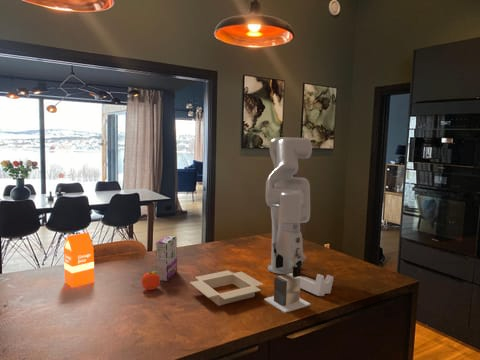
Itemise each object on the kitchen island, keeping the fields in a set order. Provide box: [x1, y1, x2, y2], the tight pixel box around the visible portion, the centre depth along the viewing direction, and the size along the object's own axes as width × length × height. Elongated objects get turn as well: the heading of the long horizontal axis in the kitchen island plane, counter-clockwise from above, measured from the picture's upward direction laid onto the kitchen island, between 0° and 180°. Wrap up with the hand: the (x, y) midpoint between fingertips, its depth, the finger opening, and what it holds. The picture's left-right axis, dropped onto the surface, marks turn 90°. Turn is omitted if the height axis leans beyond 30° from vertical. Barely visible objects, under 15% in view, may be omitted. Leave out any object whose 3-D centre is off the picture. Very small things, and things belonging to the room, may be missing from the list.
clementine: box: [141, 270, 161, 291], centre depth 145 cm, size 8×7×7 cm
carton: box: [189, 270, 264, 306], centre depth 143 cm, size 24×24×4 cm
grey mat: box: [263, 295, 311, 314], centre depth 136 cm, size 12×12×1 cm
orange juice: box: [63, 232, 95, 289], centre depth 150 cm, size 8×9×20 cm
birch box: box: [273, 273, 301, 306], centre depth 135 cm, size 8×5×9 cm, turn 123°
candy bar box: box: [155, 235, 178, 282], centre depth 158 cm, size 11×5×16 cm, turn 168°
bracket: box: [299, 273, 335, 297], centre depth 148 cm, size 13×7×8 cm, turn 38°
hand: (287, 271), depth 135 cm, fingers open, 9 cm apart
